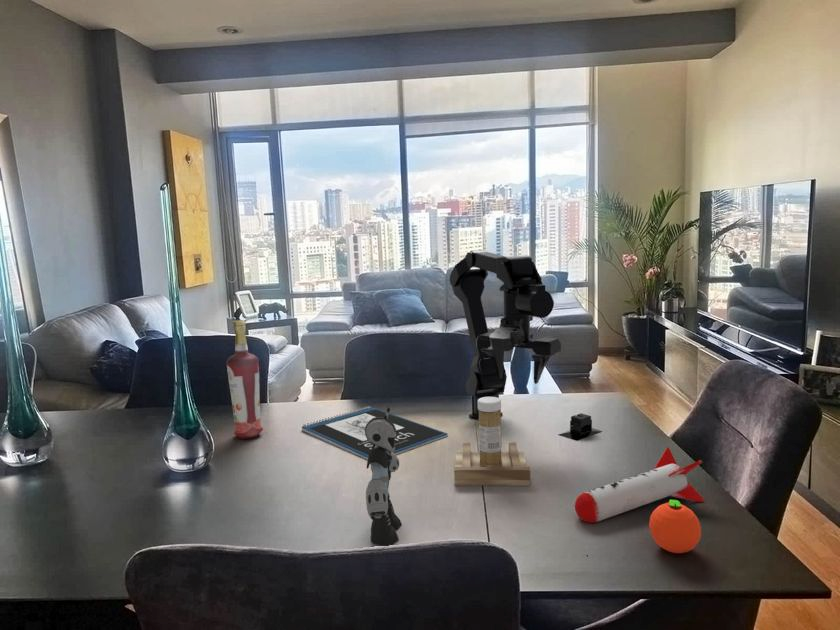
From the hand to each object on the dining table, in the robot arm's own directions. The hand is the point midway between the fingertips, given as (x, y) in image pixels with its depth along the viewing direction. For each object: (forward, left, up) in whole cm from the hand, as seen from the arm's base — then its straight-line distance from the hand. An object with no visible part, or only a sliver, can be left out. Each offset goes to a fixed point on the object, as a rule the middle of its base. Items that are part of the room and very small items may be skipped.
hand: (517, 380), depth 133 cm
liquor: (-54, -35, -13) cm, 66 cm away
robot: (+4, -50, -13) cm, 52 cm away
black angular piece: (+11, +9, -14) cm, 20 cm away
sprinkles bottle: (+5, -20, -12) cm, 24 cm away
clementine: (+42, -29, -13) cm, 53 cm away
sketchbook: (-30, -17, -14) cm, 37 cm away
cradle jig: (+5, -20, -13) cm, 24 cm away
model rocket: (+33, -19, -14) cm, 41 cm away
